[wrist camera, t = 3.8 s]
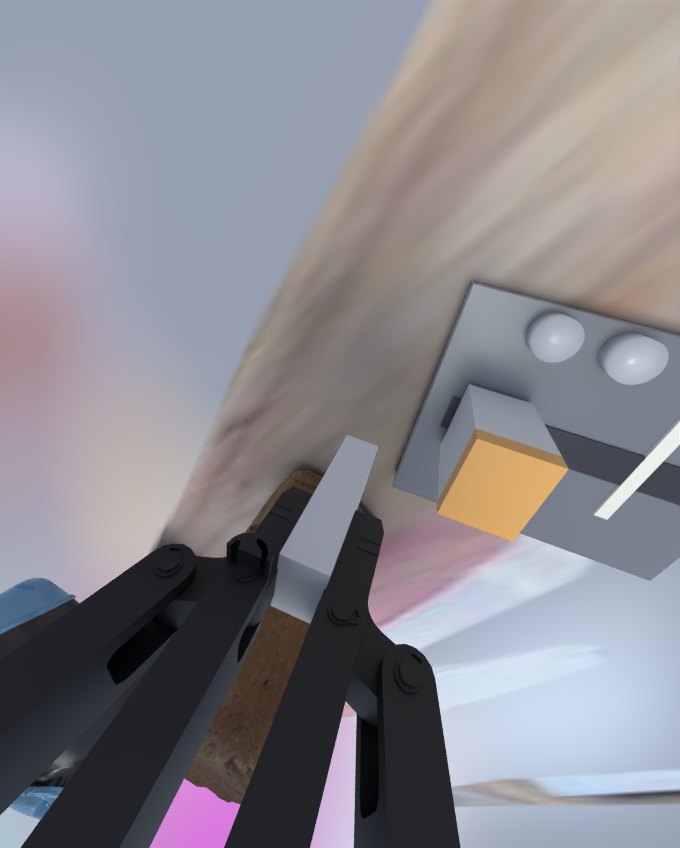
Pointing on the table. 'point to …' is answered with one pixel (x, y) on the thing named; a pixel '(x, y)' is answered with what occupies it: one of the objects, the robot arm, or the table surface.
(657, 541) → the console board
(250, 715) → the brown rounded upright piece
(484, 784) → the table surface
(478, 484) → the fader tab
